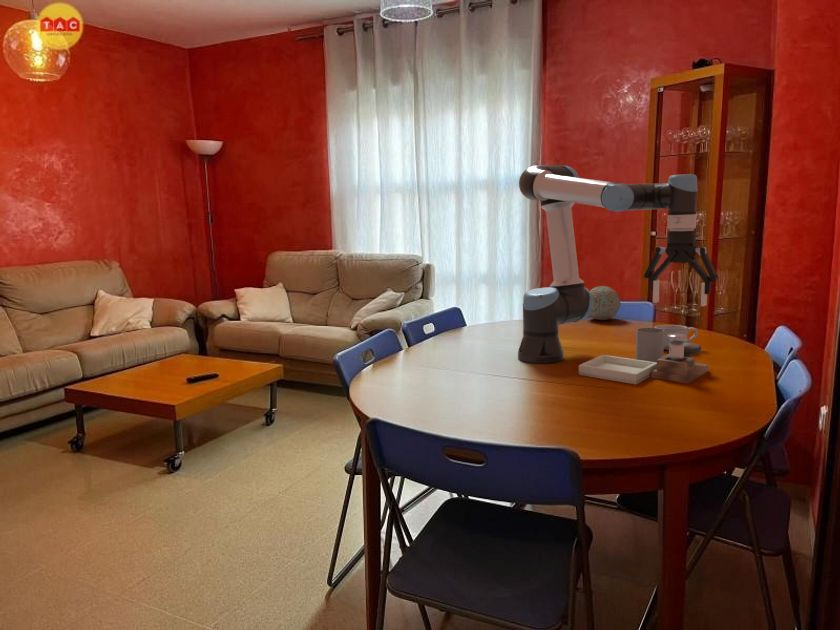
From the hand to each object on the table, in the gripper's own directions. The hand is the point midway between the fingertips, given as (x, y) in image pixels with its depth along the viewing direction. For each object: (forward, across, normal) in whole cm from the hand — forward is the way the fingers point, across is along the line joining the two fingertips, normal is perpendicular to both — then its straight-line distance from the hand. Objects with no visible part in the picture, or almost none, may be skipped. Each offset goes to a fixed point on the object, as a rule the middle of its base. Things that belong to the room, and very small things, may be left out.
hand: (679, 304), depth 183 cm
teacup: (+22, -13, +35) cm, 43 cm away
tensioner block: (+22, 0, +4) cm, 22 cm away
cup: (+22, -14, +15) cm, 30 cm away
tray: (+22, -15, -6) cm, 27 cm away
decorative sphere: (+22, -58, +71) cm, 94 cm away
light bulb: (+20, 0, 0) cm, 20 cm away
